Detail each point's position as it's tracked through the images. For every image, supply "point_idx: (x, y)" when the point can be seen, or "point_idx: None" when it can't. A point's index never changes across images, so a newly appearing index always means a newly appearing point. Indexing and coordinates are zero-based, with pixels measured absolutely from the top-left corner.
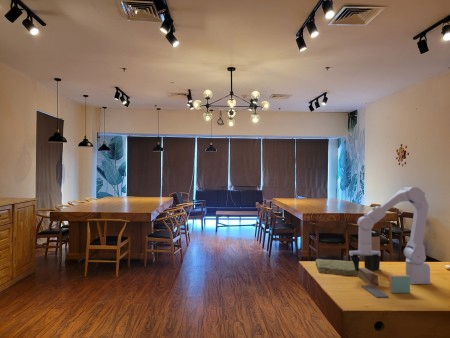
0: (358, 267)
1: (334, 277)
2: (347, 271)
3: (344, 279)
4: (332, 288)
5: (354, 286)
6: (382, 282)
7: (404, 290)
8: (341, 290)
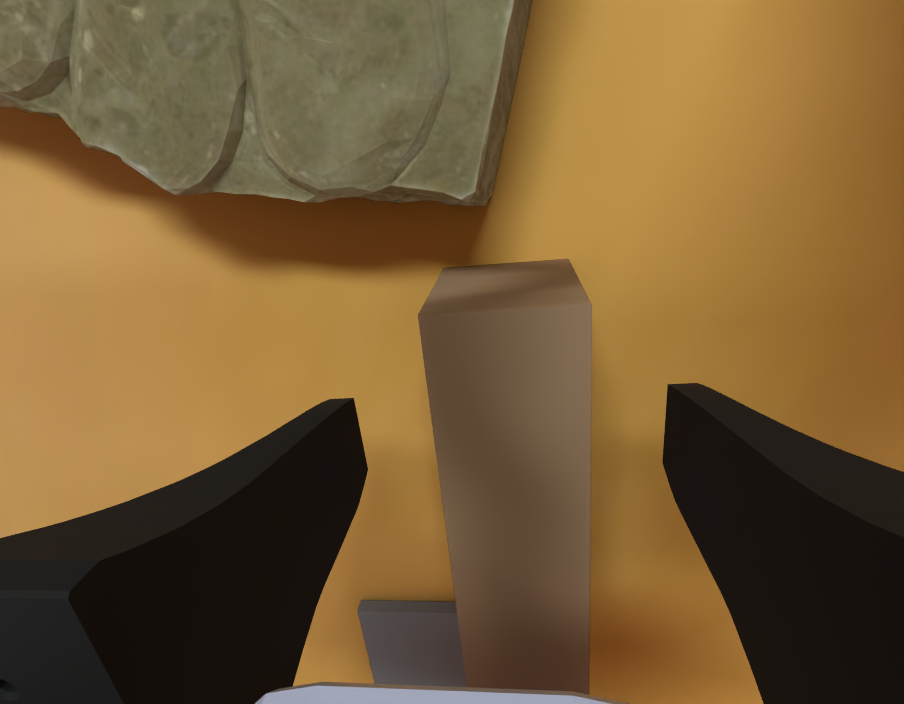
0: (338, 539)
1: (80, 308)
2: (252, 189)
3: (209, 387)
4: None
5: None
6: None
7: None
8: None
